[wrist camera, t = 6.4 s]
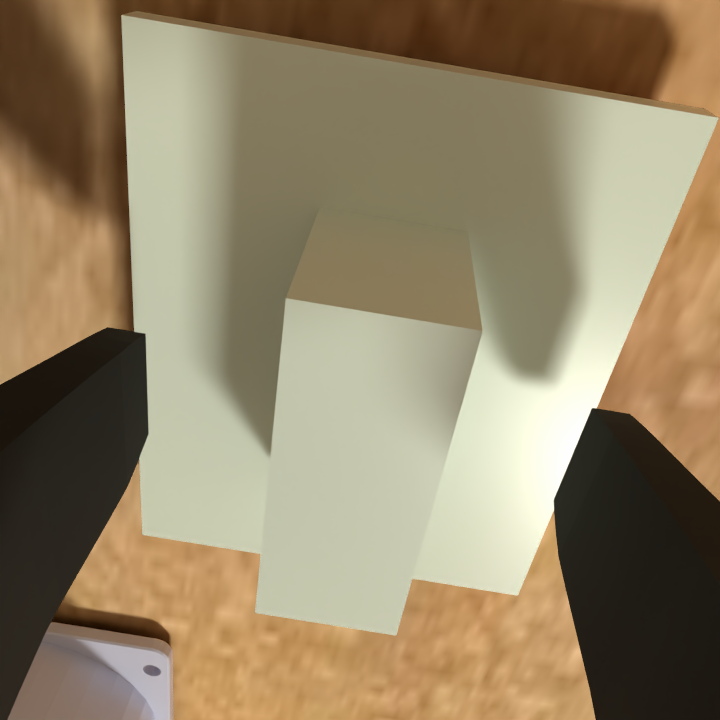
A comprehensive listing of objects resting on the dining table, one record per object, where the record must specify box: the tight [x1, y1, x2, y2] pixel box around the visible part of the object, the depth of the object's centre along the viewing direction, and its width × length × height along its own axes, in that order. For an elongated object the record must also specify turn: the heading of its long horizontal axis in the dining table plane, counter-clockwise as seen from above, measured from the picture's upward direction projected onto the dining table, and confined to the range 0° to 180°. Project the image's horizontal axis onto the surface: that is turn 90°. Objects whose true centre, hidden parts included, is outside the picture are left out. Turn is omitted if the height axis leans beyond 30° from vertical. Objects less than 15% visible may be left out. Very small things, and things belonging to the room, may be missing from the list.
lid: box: [121, 11, 719, 635], centre depth 12 cm, size 11×9×5 cm
